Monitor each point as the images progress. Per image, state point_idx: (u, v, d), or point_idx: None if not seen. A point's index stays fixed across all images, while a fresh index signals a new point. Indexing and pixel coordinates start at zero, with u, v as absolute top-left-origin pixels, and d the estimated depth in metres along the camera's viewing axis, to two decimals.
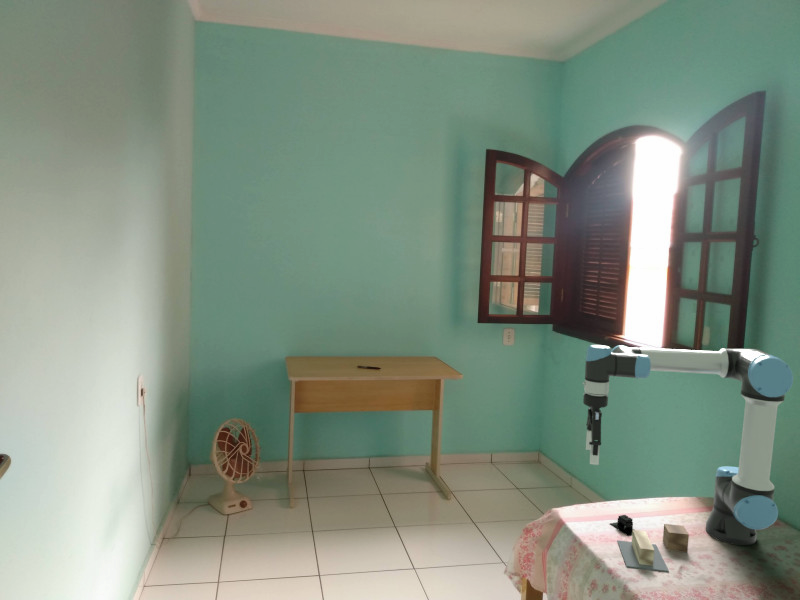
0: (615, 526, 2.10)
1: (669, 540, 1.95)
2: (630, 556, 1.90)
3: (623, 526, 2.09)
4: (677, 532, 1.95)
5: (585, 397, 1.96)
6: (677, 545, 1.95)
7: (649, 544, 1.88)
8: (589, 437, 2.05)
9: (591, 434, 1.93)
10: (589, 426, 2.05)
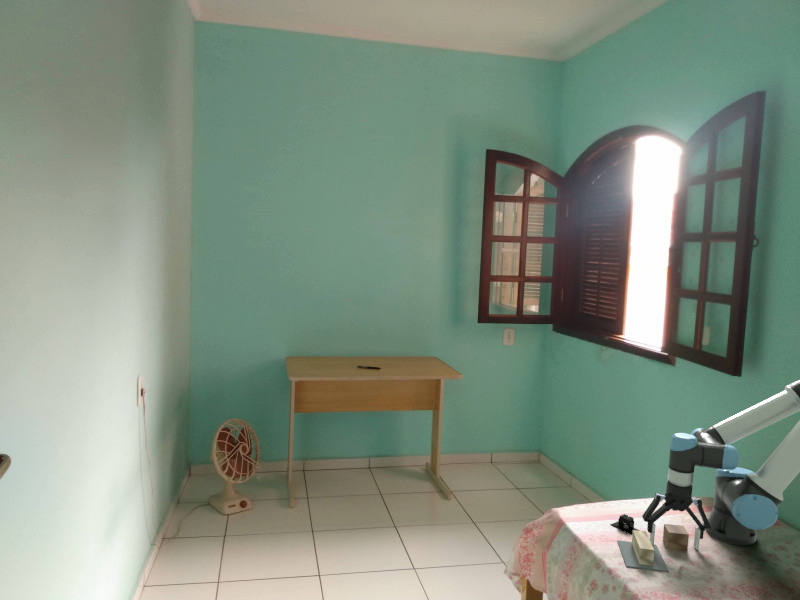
0: (616, 526, 2.10)
1: (669, 540, 1.95)
2: (630, 556, 1.90)
3: (624, 526, 2.10)
4: (677, 532, 1.95)
5: None
6: (677, 545, 1.95)
7: (649, 544, 1.88)
8: (695, 533, 1.97)
9: None
10: None
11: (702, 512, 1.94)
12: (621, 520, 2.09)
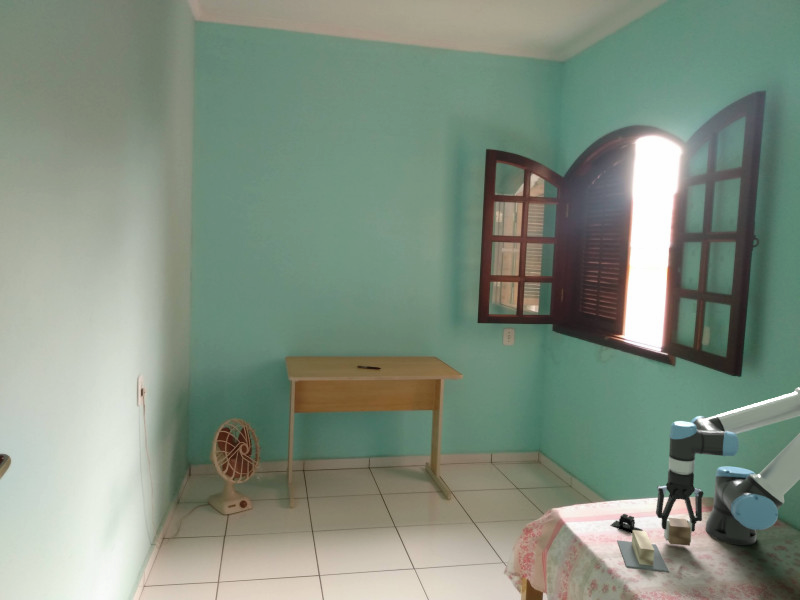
0: (617, 527, 2.10)
1: (671, 534, 1.95)
2: (630, 556, 1.90)
3: (625, 525, 2.10)
4: (679, 525, 1.95)
5: None
6: (679, 538, 1.95)
7: (649, 544, 1.88)
8: None
9: None
10: (688, 513, 1.97)
11: (699, 503, 1.94)
12: (622, 520, 2.09)
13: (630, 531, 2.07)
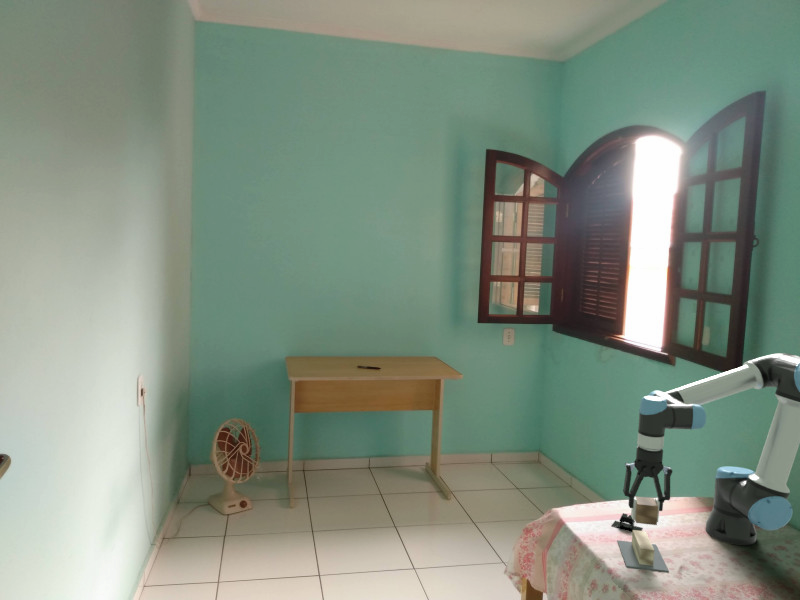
0: (619, 527, 2.10)
1: (638, 512, 1.87)
2: (630, 556, 1.90)
3: (625, 525, 2.10)
4: (646, 504, 1.87)
5: None
6: (646, 517, 1.87)
7: (649, 544, 1.88)
8: None
9: None
10: (656, 491, 1.89)
11: (668, 482, 1.86)
12: (623, 520, 2.09)
13: (632, 530, 2.07)
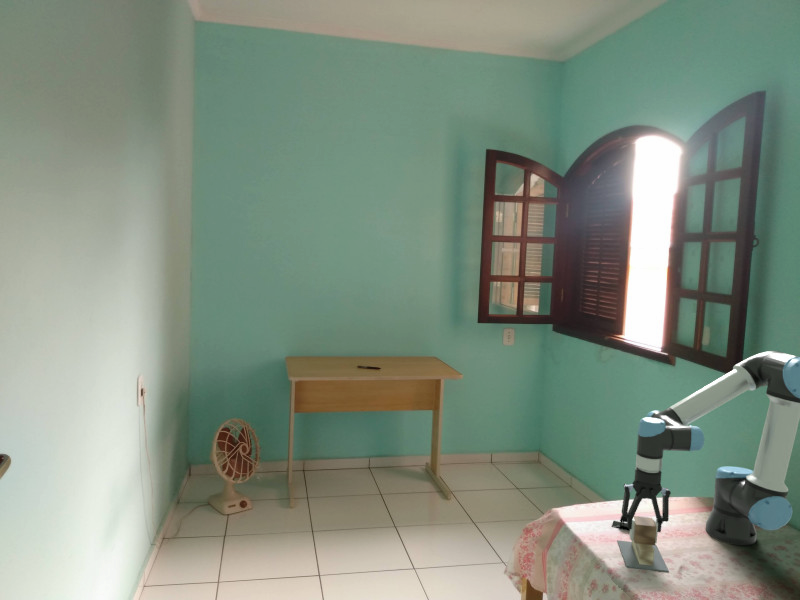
0: (619, 527, 2.10)
1: (636, 532, 1.88)
2: (630, 556, 1.90)
3: (625, 525, 2.10)
4: (645, 524, 1.88)
5: None
6: (645, 537, 1.88)
7: None
8: None
9: None
10: (655, 513, 1.90)
11: (666, 503, 1.87)
12: (624, 520, 2.09)
13: None
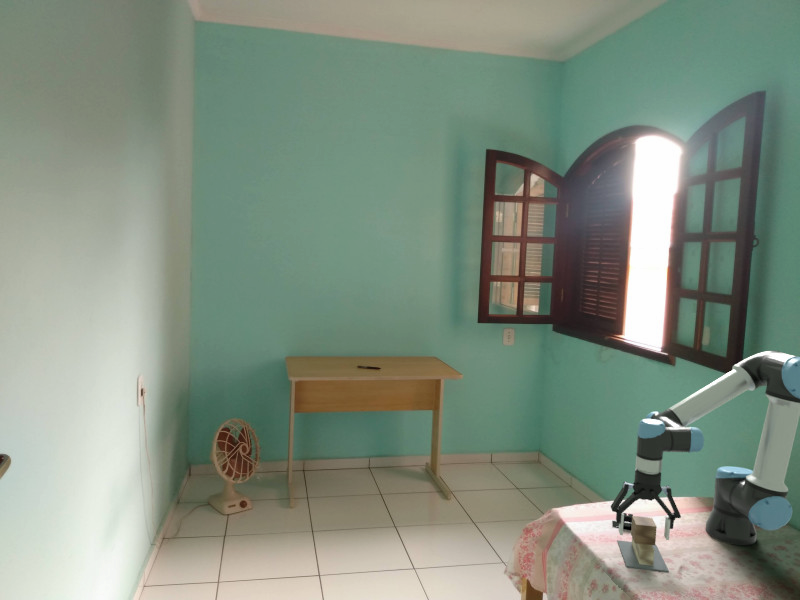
0: None
1: (636, 532, 1.88)
2: (630, 556, 1.90)
3: (625, 524, 2.11)
4: (645, 524, 1.88)
5: None
6: (645, 537, 1.88)
7: None
8: (665, 523, 1.89)
9: None
10: None
11: (672, 501, 1.87)
12: (624, 520, 2.10)
13: None
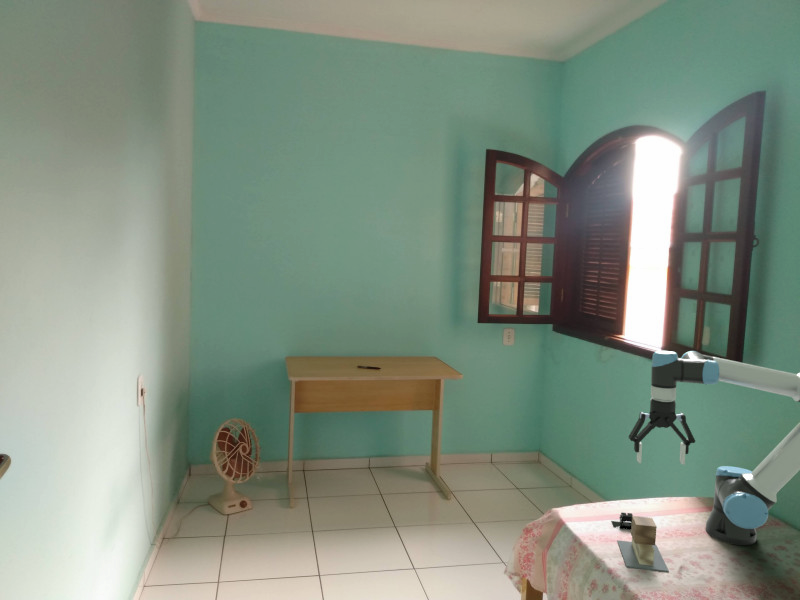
0: (621, 527, 2.10)
1: (636, 532, 1.88)
2: (630, 556, 1.90)
3: (625, 524, 2.11)
4: (645, 524, 1.88)
5: None
6: (645, 537, 1.88)
7: None
8: (681, 449, 1.99)
9: None
10: None
11: (686, 427, 1.97)
12: (625, 519, 2.10)
13: None
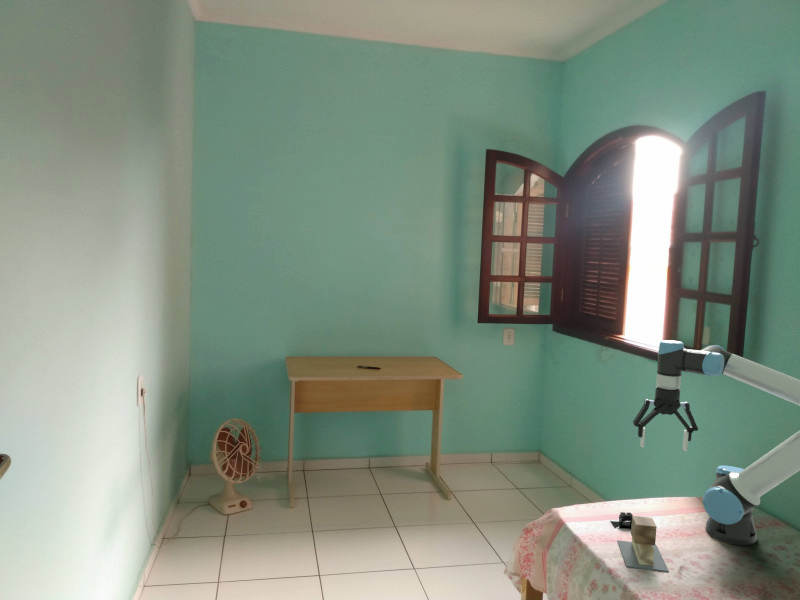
0: (622, 527, 2.10)
1: (636, 532, 1.88)
2: (630, 556, 1.90)
3: (625, 523, 2.11)
4: (645, 524, 1.88)
5: None
6: (645, 537, 1.88)
7: None
8: (684, 436, 2.05)
9: None
10: None
11: (690, 415, 2.03)
12: (625, 519, 2.10)
13: None
